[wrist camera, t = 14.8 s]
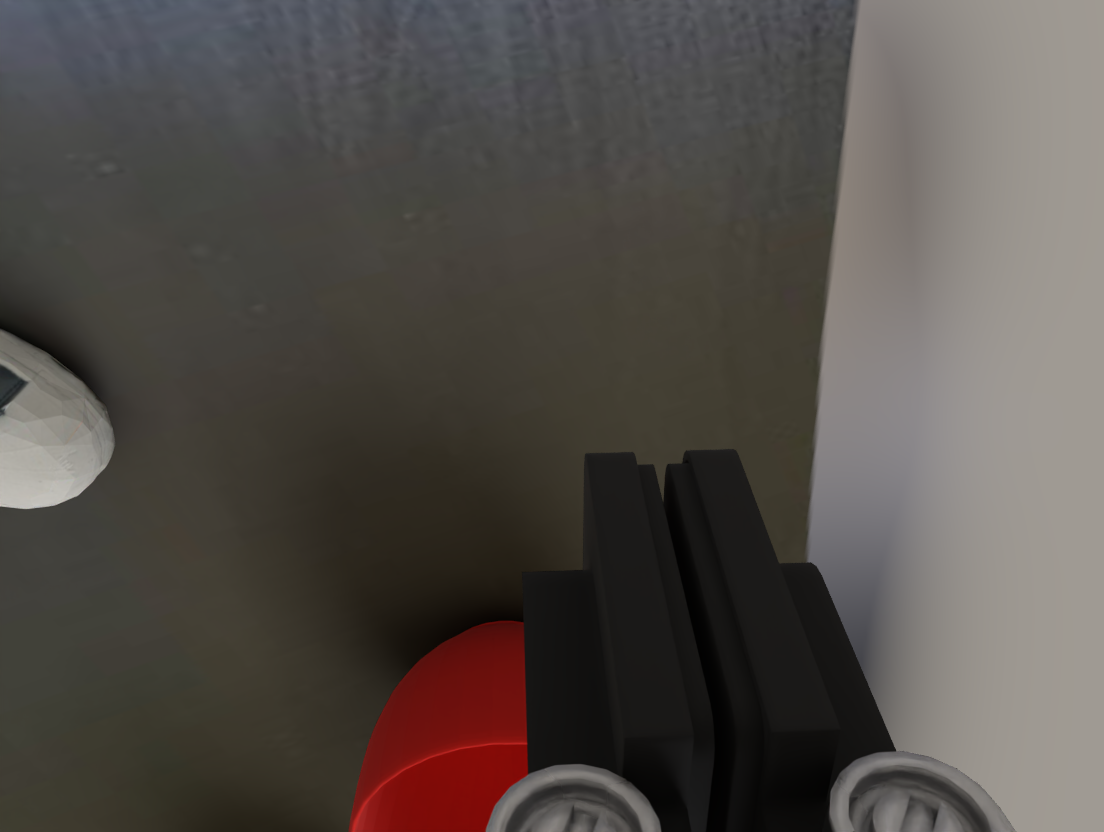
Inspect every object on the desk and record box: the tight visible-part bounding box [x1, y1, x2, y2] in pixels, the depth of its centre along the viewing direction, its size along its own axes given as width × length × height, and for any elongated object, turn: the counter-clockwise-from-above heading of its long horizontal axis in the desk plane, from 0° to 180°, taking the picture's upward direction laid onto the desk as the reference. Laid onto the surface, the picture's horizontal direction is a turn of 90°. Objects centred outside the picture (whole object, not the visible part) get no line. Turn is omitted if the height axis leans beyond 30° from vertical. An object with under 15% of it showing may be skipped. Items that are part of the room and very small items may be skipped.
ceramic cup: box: [349, 621, 528, 832], centre depth 46 cm, size 13×17×10 cm
